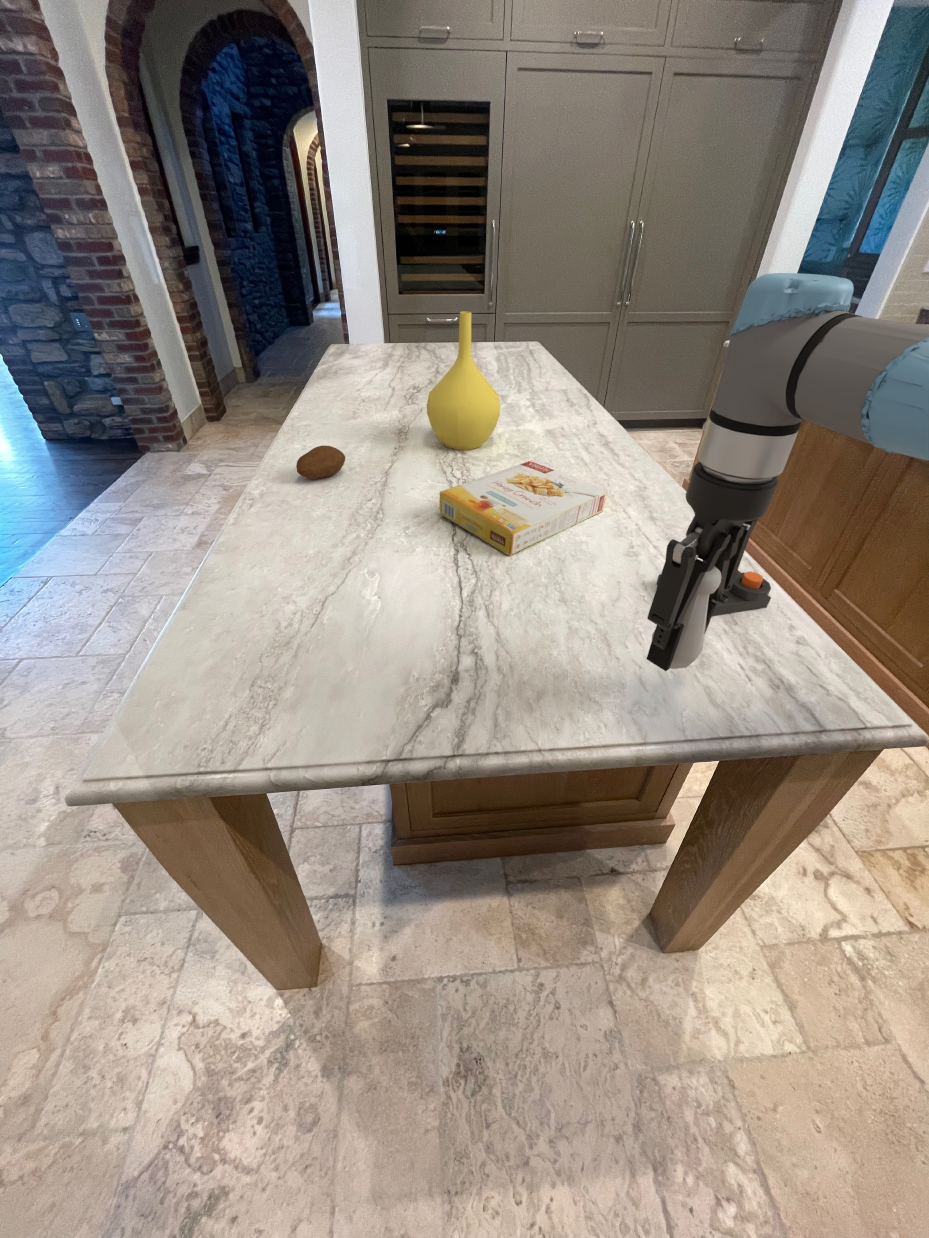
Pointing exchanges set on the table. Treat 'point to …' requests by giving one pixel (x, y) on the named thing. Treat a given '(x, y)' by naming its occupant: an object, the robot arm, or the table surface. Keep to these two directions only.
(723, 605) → the scale
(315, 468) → the potato
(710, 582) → the salt shaker
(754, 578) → the button
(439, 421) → the vase
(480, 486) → the cereal box
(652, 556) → the table surface
